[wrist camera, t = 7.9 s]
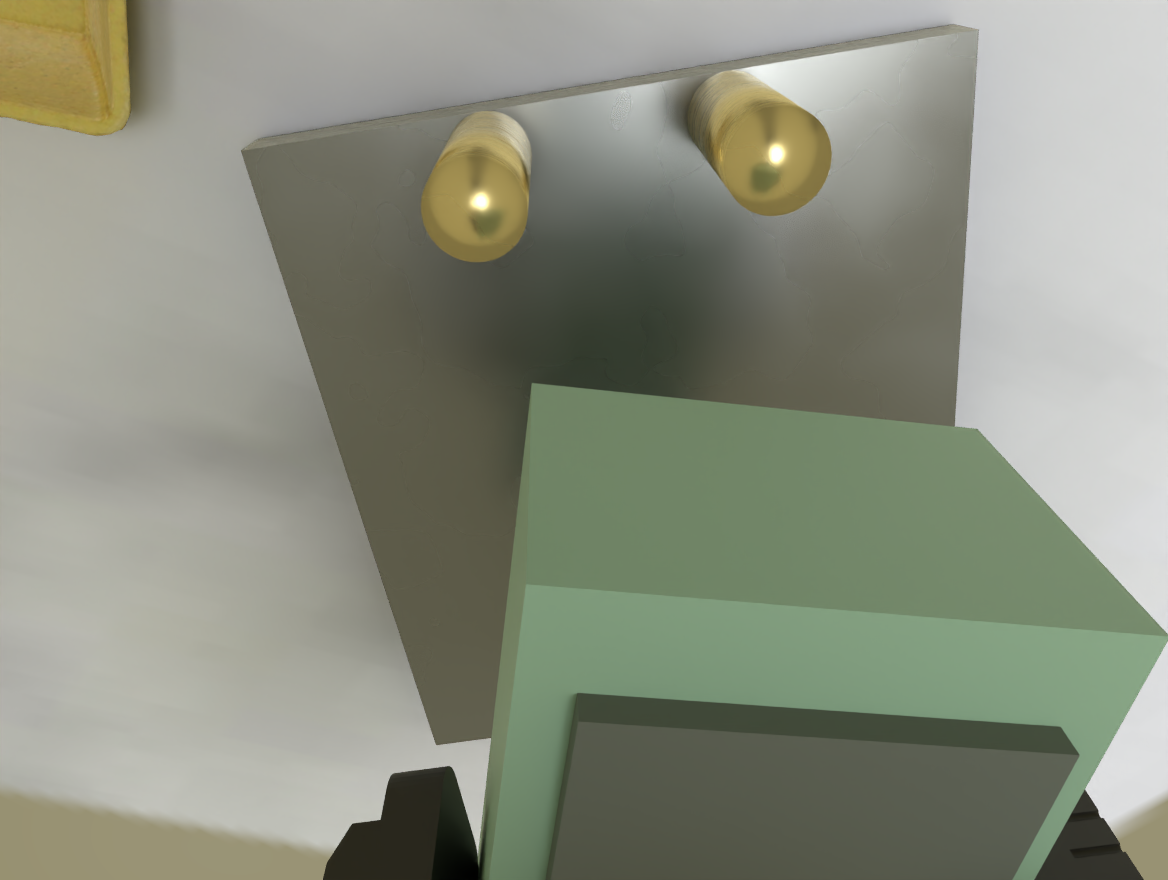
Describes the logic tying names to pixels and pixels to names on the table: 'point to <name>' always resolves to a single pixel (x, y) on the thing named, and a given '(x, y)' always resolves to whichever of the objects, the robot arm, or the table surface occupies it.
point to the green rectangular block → (792, 651)
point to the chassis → (612, 286)
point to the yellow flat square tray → (65, 64)
